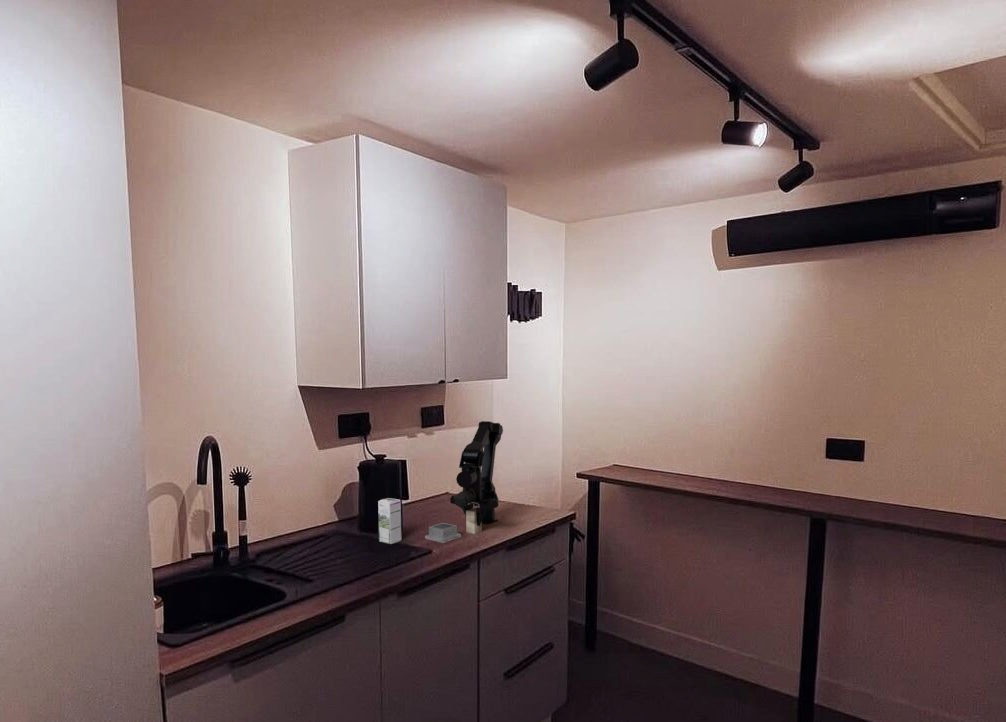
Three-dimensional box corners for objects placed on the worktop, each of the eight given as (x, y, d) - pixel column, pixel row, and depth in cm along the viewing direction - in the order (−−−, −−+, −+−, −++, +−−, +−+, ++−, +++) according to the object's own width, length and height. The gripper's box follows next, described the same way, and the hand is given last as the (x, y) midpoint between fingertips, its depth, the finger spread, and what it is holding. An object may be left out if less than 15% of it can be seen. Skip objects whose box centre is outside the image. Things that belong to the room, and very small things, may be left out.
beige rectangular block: (473, 529, 225) (473, 508, 225) (481, 531, 222) (481, 509, 222) (466, 532, 222) (466, 510, 222) (474, 534, 219) (474, 511, 219)
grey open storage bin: (443, 532, 221) (442, 521, 221) (461, 536, 216) (460, 525, 216) (425, 538, 214) (424, 527, 214) (443, 542, 209) (443, 531, 209)
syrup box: (402, 540, 212) (401, 499, 212) (389, 544, 208) (389, 502, 208) (390, 538, 216) (389, 497, 216) (378, 542, 211) (377, 500, 211)
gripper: (439, 483, 221) (440, 525, 221) (478, 489, 210) (478, 534, 210) (460, 478, 230) (460, 519, 230) (498, 483, 218) (499, 527, 218)
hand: (474, 524), depth 222 cm, fingers open, 4 cm apart
